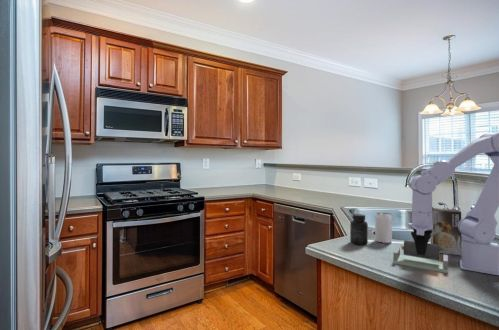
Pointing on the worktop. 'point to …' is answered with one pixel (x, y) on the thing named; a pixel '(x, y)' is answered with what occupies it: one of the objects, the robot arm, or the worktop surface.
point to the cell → (410, 250)
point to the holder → (421, 262)
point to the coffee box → (446, 231)
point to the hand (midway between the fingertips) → (421, 252)
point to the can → (383, 227)
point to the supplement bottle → (359, 230)
